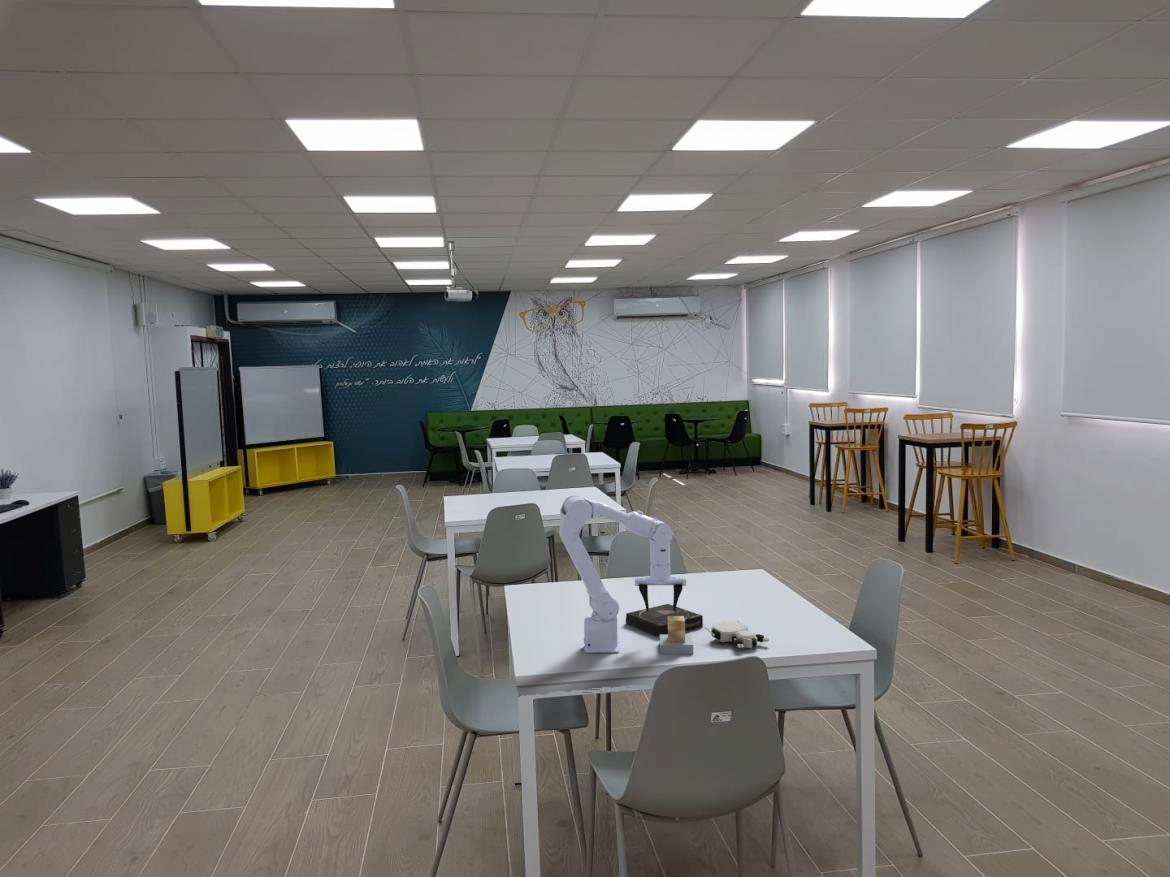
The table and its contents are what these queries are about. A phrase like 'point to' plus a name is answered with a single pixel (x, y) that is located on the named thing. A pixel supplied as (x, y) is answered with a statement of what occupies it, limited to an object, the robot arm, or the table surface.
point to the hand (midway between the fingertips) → (660, 610)
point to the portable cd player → (662, 619)
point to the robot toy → (736, 634)
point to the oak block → (676, 629)
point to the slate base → (676, 645)
